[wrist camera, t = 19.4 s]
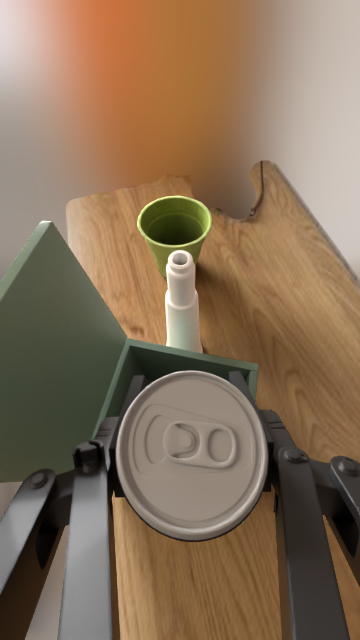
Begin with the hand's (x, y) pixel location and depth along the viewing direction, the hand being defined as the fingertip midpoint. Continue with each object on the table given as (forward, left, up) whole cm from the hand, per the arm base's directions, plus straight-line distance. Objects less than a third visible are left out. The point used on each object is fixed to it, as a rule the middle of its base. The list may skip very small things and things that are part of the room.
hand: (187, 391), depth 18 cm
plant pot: (-8, +28, -22) cm, 37 cm away
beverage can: (+1, -4, -4) cm, 5 cm away
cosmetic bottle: (-3, +11, -22) cm, 25 cm away
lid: (-9, -1, 0) cm, 9 cm away
